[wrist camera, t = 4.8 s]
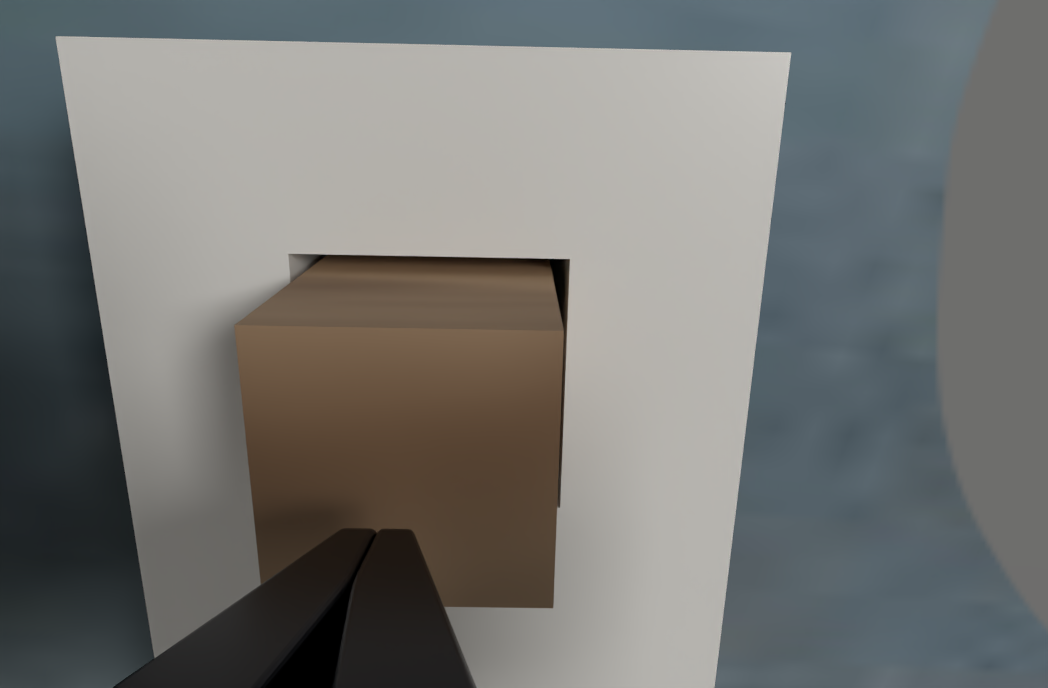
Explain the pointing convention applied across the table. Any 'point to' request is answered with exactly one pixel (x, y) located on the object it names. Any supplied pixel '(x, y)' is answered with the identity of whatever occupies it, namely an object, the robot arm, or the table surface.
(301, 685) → the robot arm
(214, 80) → the white peg base
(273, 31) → the table surface
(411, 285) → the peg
